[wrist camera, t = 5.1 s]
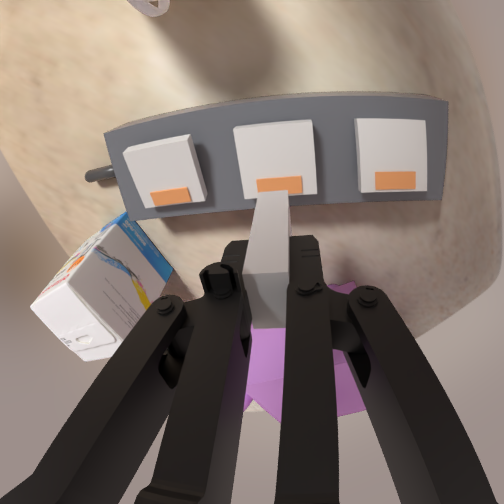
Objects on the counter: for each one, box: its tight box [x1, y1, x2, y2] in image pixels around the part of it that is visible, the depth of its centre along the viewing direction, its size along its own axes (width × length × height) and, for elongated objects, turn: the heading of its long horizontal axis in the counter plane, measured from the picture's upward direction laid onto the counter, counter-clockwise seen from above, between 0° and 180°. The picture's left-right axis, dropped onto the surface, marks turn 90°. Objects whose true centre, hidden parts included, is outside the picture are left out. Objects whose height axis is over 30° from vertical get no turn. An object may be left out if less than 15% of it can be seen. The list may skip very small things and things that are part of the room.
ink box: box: [30, 212, 173, 362], centre depth 27 cm, size 9×8×12 cm
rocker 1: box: [123, 134, 208, 208], centre depth 21 cm, size 5×5×1 cm
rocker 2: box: [233, 119, 317, 199], centre depth 20 cm, size 5×5×1 cm
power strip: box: [85, 91, 448, 221], centre depth 23 cm, size 8×32×4 cm, turn 98°
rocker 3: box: [354, 118, 427, 193], centre depth 18 cm, size 5×5×1 cm
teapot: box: [243, 281, 366, 423], centre depth 30 cm, size 20×10×12 cm, turn 118°
